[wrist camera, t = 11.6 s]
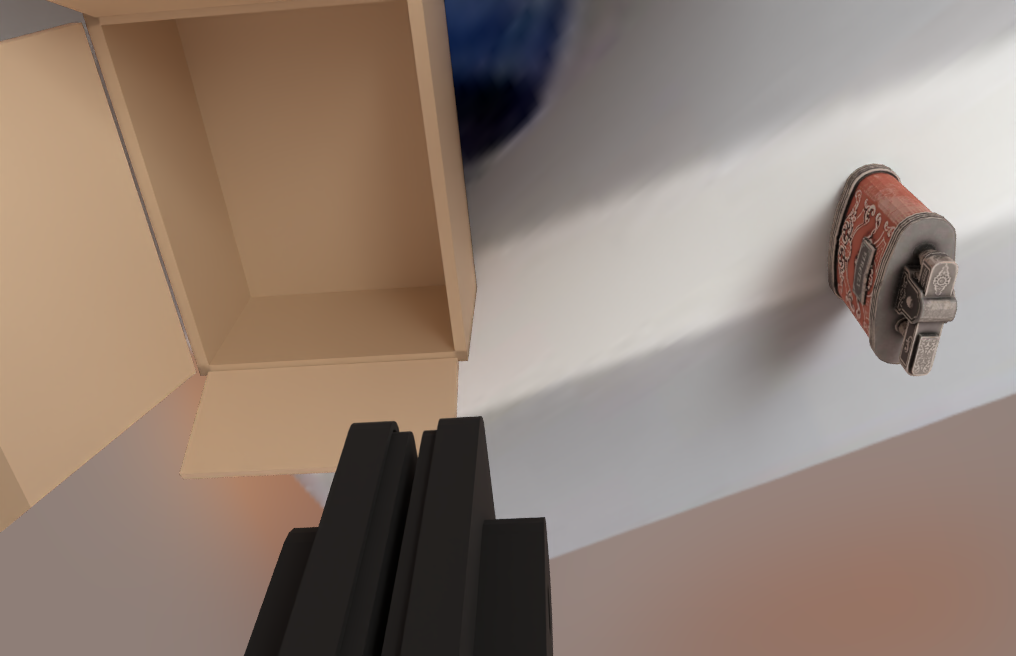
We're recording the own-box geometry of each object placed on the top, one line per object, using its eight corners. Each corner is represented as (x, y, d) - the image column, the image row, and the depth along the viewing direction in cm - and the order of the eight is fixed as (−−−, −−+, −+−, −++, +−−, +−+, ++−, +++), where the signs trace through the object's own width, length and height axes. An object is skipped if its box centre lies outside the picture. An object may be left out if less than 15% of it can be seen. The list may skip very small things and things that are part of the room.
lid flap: (-233, 106, 24) (-246, 105, 24) (-2, 534, 33) (-13, 531, 33) (82, 22, 34) (70, 22, 34) (196, 372, 42) (187, 370, 43)
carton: (433, -95, 39) (389, -67, 27) (480, 320, 50) (464, 468, 38) (144, -68, 39) (-22, -30, 28) (255, 333, 51) (171, 482, 39)
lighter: (842, 164, 44) (917, 241, 36) (906, 162, 44) (996, 239, 36) (819, 295, 49) (881, 393, 40) (877, 294, 48) (952, 392, 40)
